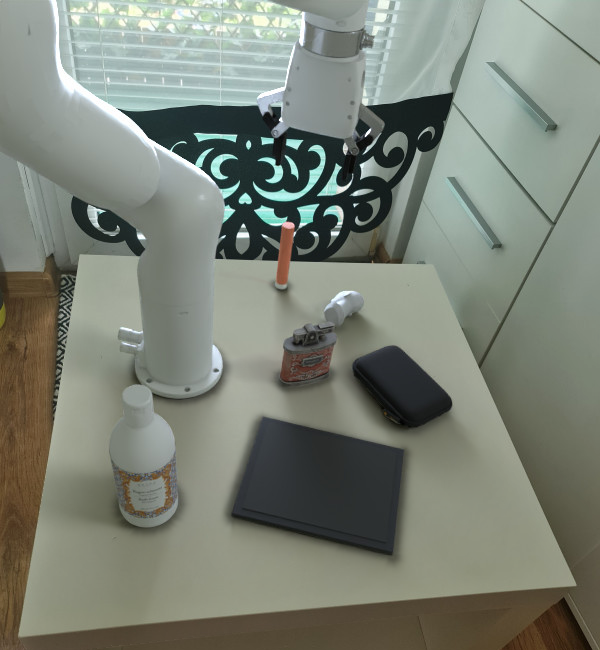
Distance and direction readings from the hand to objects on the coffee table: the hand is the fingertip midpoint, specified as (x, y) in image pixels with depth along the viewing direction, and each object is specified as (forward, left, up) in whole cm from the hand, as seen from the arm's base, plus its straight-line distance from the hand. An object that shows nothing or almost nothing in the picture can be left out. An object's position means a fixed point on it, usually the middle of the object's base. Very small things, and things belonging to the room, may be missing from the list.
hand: (312, 169), depth 88 cm
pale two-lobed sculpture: (+8, -2, -23) cm, 25 cm away
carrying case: (+19, -17, -23) cm, 35 cm away
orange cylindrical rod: (-3, +2, -23) cm, 23 cm away
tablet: (+11, -36, -23) cm, 44 cm away
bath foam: (-9, -45, -23) cm, 52 cm away
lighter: (+5, -18, -23) cm, 30 cm away
